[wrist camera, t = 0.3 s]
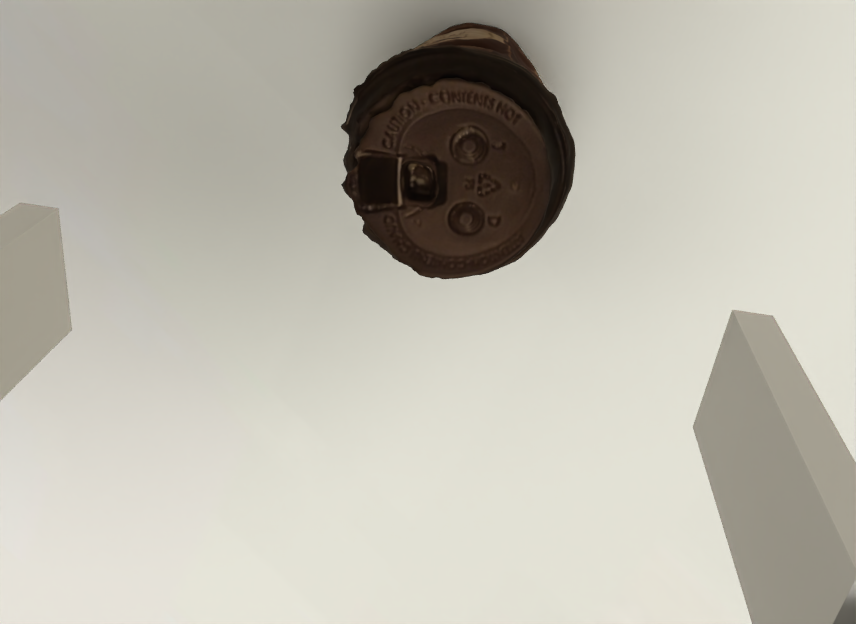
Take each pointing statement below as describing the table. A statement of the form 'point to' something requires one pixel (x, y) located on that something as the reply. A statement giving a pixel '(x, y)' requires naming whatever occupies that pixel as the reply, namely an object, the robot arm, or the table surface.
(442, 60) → the coffee cup
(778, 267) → the table surface
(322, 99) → the table surface
